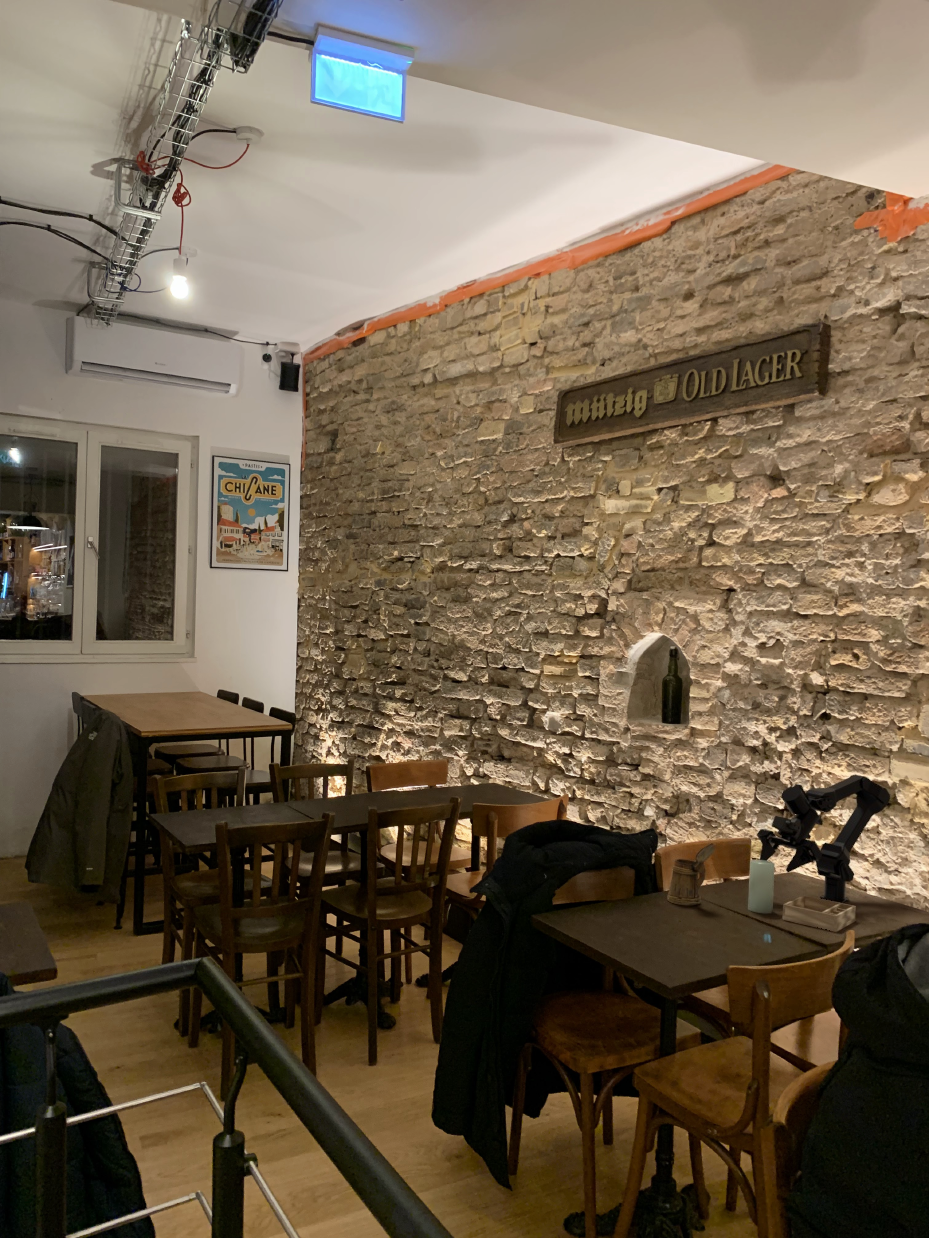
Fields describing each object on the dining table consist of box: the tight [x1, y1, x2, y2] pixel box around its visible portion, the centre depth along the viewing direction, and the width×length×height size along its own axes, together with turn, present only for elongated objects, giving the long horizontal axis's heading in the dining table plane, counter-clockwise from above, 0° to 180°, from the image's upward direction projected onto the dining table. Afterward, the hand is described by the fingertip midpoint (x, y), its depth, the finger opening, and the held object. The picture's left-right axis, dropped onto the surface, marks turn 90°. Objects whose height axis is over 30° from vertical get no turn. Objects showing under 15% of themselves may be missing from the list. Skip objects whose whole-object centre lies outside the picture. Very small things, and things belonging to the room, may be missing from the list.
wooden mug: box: [666, 843, 716, 907], centre depth 265 cm, size 9×14×18 cm, turn 37°
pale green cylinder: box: [747, 859, 776, 914], centre depth 262 cm, size 6×6×13 cm
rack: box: [782, 894, 857, 933], centre depth 255 cm, size 15×14×4 cm
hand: (773, 867), depth 265 cm, fingers open, 9 cm apart
